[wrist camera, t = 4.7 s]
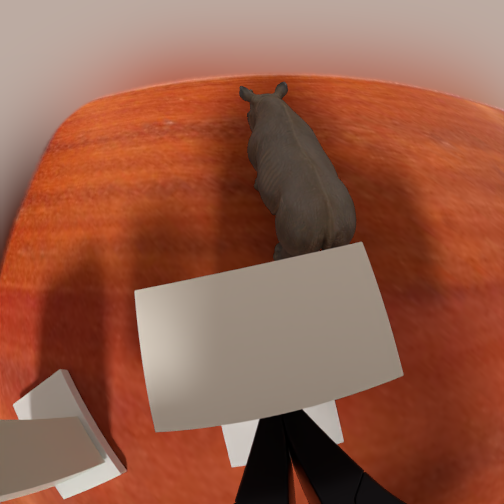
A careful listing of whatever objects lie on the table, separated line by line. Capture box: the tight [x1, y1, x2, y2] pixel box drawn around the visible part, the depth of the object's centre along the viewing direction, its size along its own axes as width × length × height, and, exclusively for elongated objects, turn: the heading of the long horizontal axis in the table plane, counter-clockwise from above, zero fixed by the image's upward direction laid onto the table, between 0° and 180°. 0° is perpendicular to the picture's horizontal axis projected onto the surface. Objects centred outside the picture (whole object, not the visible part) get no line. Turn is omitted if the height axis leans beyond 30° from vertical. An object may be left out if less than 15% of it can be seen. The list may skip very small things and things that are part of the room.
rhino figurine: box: [239, 82, 356, 261], centre depth 16 cm, size 4×14×6 cm, turn 14°
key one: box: [134, 242, 404, 432], centre depth 10 cm, size 3×5×9 cm, turn 102°
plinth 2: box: [221, 400, 344, 467], centre depth 14 cm, size 7×6×1 cm
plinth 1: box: [13, 369, 127, 499], centre depth 13 cm, size 7×6×1 cm
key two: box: [0, 416, 105, 502], centre depth 8 cm, size 3×5×9 cm, turn 127°
